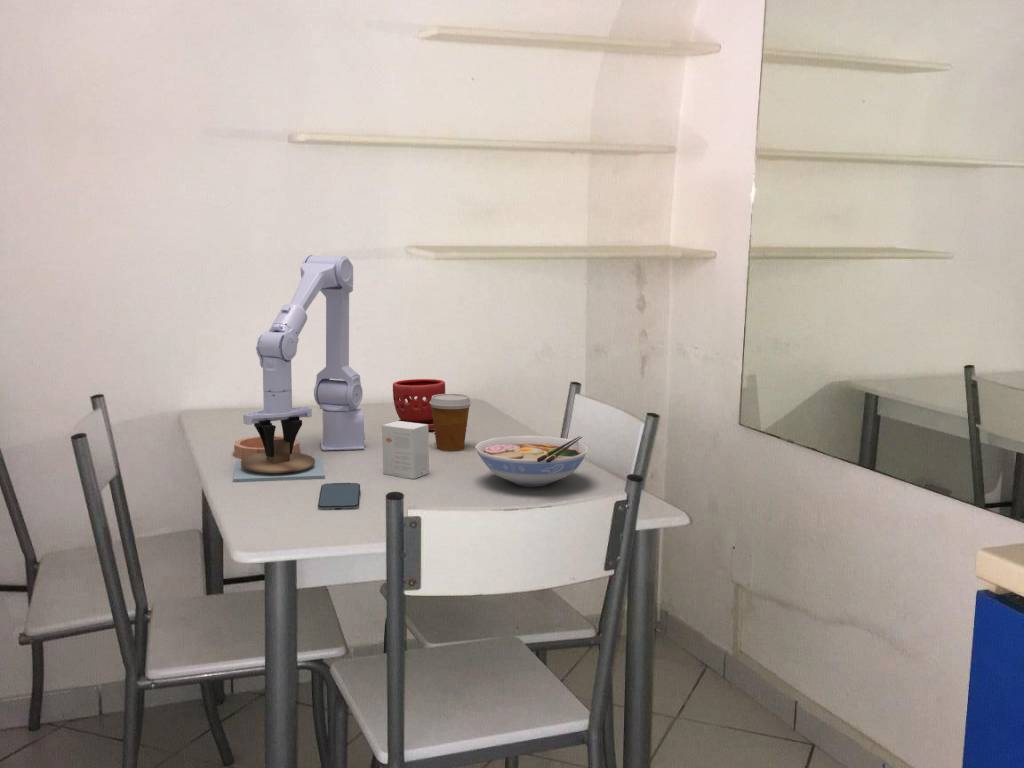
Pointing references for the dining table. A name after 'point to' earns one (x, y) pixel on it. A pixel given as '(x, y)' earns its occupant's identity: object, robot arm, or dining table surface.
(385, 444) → the small box
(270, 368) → the robot arm
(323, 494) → the smartphone
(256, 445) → the dish
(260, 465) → the lid
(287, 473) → the mat
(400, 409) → the plant pot
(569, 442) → the ramen bowl
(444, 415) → the disposable coffee cup
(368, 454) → the dining table surface
